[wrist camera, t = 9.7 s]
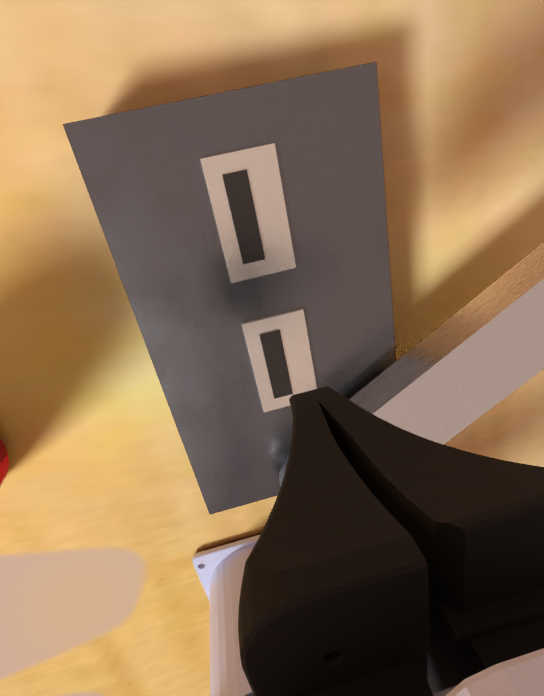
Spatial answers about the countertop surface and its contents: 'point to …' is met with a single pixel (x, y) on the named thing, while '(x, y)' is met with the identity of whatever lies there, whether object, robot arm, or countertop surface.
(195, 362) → the plate
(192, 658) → the countertop surface
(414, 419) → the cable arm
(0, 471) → the soda can
